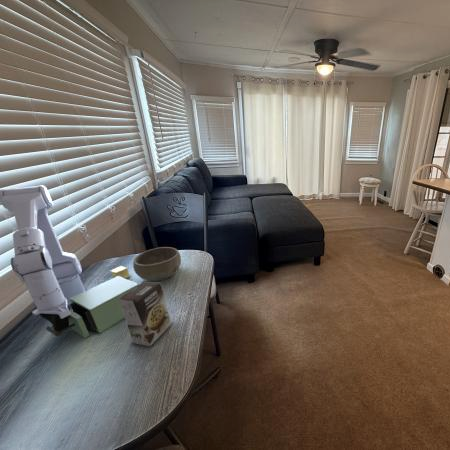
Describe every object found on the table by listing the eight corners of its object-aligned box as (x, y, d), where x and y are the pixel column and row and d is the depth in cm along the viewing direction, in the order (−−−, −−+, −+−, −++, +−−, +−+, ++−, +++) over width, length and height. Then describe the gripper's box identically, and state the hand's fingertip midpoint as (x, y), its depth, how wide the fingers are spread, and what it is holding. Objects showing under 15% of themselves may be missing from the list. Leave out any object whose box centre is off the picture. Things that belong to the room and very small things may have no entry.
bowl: (190, 273, 107) (185, 253, 103) (146, 292, 94) (139, 270, 91) (173, 261, 117) (169, 242, 114) (132, 276, 105) (125, 256, 101)
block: (113, 279, 103) (110, 270, 102) (124, 274, 107) (121, 265, 105) (119, 281, 101) (116, 272, 100) (129, 276, 105) (127, 267, 104)
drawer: (65, 349, 68) (55, 330, 66) (47, 336, 73) (37, 317, 70) (131, 310, 83) (125, 292, 81) (112, 301, 88) (106, 284, 86)
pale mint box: (99, 333, 75) (90, 309, 72) (79, 320, 80) (69, 298, 77) (145, 304, 87) (138, 283, 84) (125, 295, 92) (118, 275, 89)
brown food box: (151, 346, 70) (136, 301, 64) (132, 343, 71) (116, 299, 65) (172, 324, 78) (161, 282, 72) (155, 321, 79) (143, 280, 74)
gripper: (15, 292, 67) (35, 330, 71) (37, 306, 60) (57, 347, 65) (48, 279, 73) (65, 315, 77) (71, 291, 66) (88, 329, 71)
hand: (63, 329), depth 72 cm, fingers closed, pressing on drawer
